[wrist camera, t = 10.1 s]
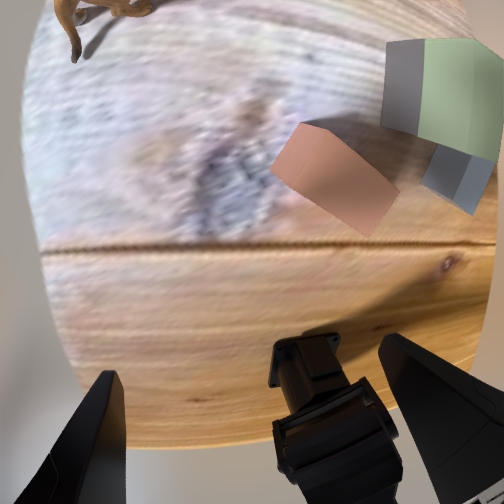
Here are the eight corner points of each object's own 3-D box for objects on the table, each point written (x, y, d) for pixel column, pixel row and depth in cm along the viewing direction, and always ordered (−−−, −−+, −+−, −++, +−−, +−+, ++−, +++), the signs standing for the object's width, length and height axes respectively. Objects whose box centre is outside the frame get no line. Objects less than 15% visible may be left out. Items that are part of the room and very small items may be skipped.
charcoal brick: (415, 133, 19) (452, 145, 16) (379, 126, 18) (416, 136, 15) (422, 56, 16) (460, 57, 13) (386, 42, 15) (424, 38, 12)
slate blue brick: (441, 198, 23) (472, 216, 19) (419, 182, 21) (452, 200, 18) (467, 138, 20) (500, 149, 17) (447, 117, 19) (482, 127, 16)
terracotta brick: (366, 173, 20) (400, 191, 17) (339, 214, 21) (368, 238, 18) (299, 122, 17) (327, 129, 14) (268, 169, 18) (289, 187, 15)
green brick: (452, 145, 16) (497, 162, 12) (417, 136, 15) (465, 153, 12) (460, 58, 13) (506, 62, 9) (424, 39, 12) (474, 38, 8)
